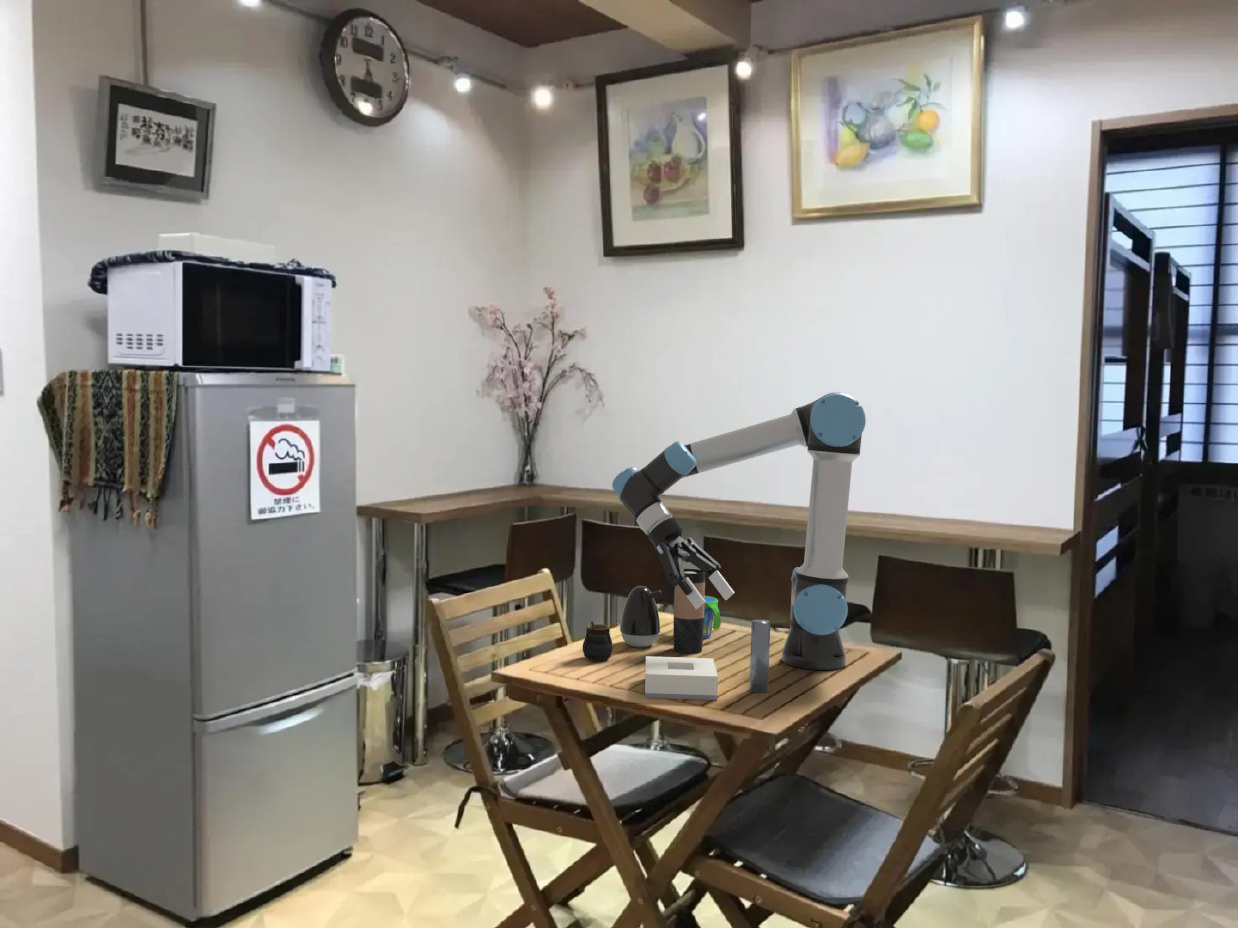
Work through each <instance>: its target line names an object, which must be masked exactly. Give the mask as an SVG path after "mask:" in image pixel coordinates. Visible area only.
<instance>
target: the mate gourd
mask: <svg viewBox="0 0 1238 928" xmlns="http://www.w3.org/2000/svg"><path fill="white" fill-rule="evenodd" d="M610 628H611V627H610V626H609V625H607V624H603V623H602V624H601V623H594V621H590V624H588V625H587V626H586V633H585V638H584V640H583V643H582V652H583V655H584V657H585V658H586V659H587V660H588V661H592V662H605V661H608V660H609V659H610V658H611V656H612V653H613V651H614V643H613V641H612V638H611V637H612V636H611V634H610V632H611V629H610Z"/></svg>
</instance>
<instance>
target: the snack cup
mask: <svg viewBox="0 0 1238 928" xmlns="http://www.w3.org/2000/svg"><path fill="white" fill-rule="evenodd" d="M718 604H719V599H718V598H716V597H714V596H709V595H705V602H704V628H703V640H704V639H707V638H709V637H711V635H712V631H713V630H717V629H718V630H719V628H721V624H722V620H721V614H720V609H719V607H718Z"/></svg>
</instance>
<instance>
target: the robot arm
mask: <svg viewBox="0 0 1238 928" xmlns="http://www.w3.org/2000/svg"><path fill="white" fill-rule="evenodd" d="M866 419H867V418H866V412H865V411H864V408H863V406H862V404H861V403H860V402H859V401H858V399H857V398H855V397H854V396H853V395H850V394H848V393H845V392H829V393H827V394H824V395H823V396H821V397H819V398H818V399H815V400H814V401H812V402H808V403H807V404H806V405H802V406H798V407H795V408H793V410H792V412H791V413H790V414H787V415H783V416H780V417H776V418H772V419H770V420H765V421H764V422H759V423H756V424H752V425H749V426H746V427H745V426H744V427H743V428H739V429H735V430H732V431H728V432H725V433H722V434H718V435H715V436H711V437H708V438H705V439H701V440H697V441H695V442H691V443H688V444H683V443H682V442H681V441H674V442H673V443H672V444H671V445H669V446H667V447H666V448H664V450H663V451H661V453H659V454H658V455H657V456H656V457H654V458H653V459H652V460H651V461H650V462H648V464H647V465H645V466H644V467H642V468H641V469H638V468H637V467H635V466H631V467H627V468H625V469H624V470H623V471H621V472H619V473H618V474H617V475H616V476H615V477H614V479H613V481H612V484H611V487H612V490H613V491H614V492H615V494H616V496H617V498H618V499H619V501H620V503H622V504H623V506H624V507H625V508H626V510H627V511H628V512H629V513H630V515H631V516H632V518H633V519H634V520H635V522H636V523H637V524H638V525H639V527H640V530H642V531H643V532H644V534H645V535H646V536H648V540H649V541H650V542H651V544H652V545H653V546H654V552H655V553H656V555H657V556H658V559H659V561H660V565H661V567H662V569H663V572H664V574H665V578H666V580H667V582H668V583H669V584H671V586H672V587H674V588H675V587H676V586H677V585H678V586H679V587H680V588H681V590H682V591H683V592H684V594H685V595H686V596H687V598H688V599H689V601H690V602H691V603H692V605H693V606H694V607H695V609H698V608H699V607H700V606H701V605H702V604H703V603H704V602H705V600H704V598H703V597H702V595H701V594H700V593H699V591H698V590H697V589H696V587H695V586H694V585H693V583H692V582H691V581H690V579H689V578H686V579H684V578H685V575H684V570H683V569H684V565H683V562H686V563H690V564H691V565H693V566H695V567H696V568H697V569H698V570H702V571H703V572H705V575H708V576H709V577H708V579H709V580H710V582H711V583H712V585H713V586H714V587H715V589H716V590H717V591H718V592H719V594H720V595H721V598H723V599H724V600H725V601H728V599H729V598H731V597H732V596H733V595H734V594H735V591H734V589H733V588H732V586H730V585H729V583H728V581H726V579H725V577H724V576H723V575H722V574H721V573H720V571H719V570H720V569H722V566H721V565H720V563H719V562H718V561H716V559H714V558H713V557H712V556H711V555H709V553H708V552H706V551H705V550H704V549H703V548H702V547H700V545H698V543H696V542H695V540H694V539H693V538H692V537H690V536H689V538H688V539H686V540H685V539H684V537H683V536H682V534H683V531H684V530H683V527H682V526H681V524H680V523H679V521H677V519H676V518H675V517H673V513H671V511H670V510H669V509H668V507H667V506H666V505H665V504H664V502H663V501H662V499H660V496H662V495H663V494H665V492H666V491H668V490H669V489H670V488H671V487H673V486H674V485H675V484H677V483H678V482H679V481H680V480H681V479H684V478H688V477H690V476H694V475H697V474H700V473H704V472H709V471H712V470H714V469H718V468H722V467H725V466H729V465H732V464H736V463H739V462H743V461H747V460H751V459H753V458H757V457H761V456H764V455H767V454H771V453H775V452H779V451H781V450H785V449H789V448H792V447H795V446H799V445H800V446H802V447H805V448H807V453H808V454H809V455H810V456H811V457H812V460H813V461H812V470H811V480H810V481H811V483H810V492H809V504H808V512H807V513H808V514H807V516H808V517H807V526H806V534H805V535H806V536H805V549H804V558H803V559H804V560H803V563H802V565H800V567H799V566H796V567H795V568H794V569H793V570H792V576H791V578H790V581H791V595H790V596H791V599H790V627H789V631H788V634H787V637H786V640H785V642H784V645H783V648H782V651H781V661H782V662H783V663H784V664H786V665H787V666H790V667H794V668H799V669H805V670H816V671H817V670H818V671H823V670H824V671H826V670H827V671H828V670H829V671H831V670H837V669H841V668H843V667H845V666H846V663H847V662H846V661H847V655H846V654H847V653H846V651H845V648H844V645H843V641H842V638H841V633H840V628H842V627H843V625H844V623H845V622H846V619H847V616H848V612H849V607H848V602H847V596H848V586H849V585H848V584H849V574H848V573H847V572H846V570H844V567H843V566H844V565H843V564H844V552H845V543H846V542H845V541H846V533H847V532H846V531H847V520H848V512H849V511H848V509H849V501H850V490H851V481H852V480H851V478H852V469H853V467H852V466H853V462H854V461H855V460H856V459H858V457H859V456H860V455H861V447H862V446H861V445H862V436H863V432H864V430H865V428H866Z"/></svg>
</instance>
